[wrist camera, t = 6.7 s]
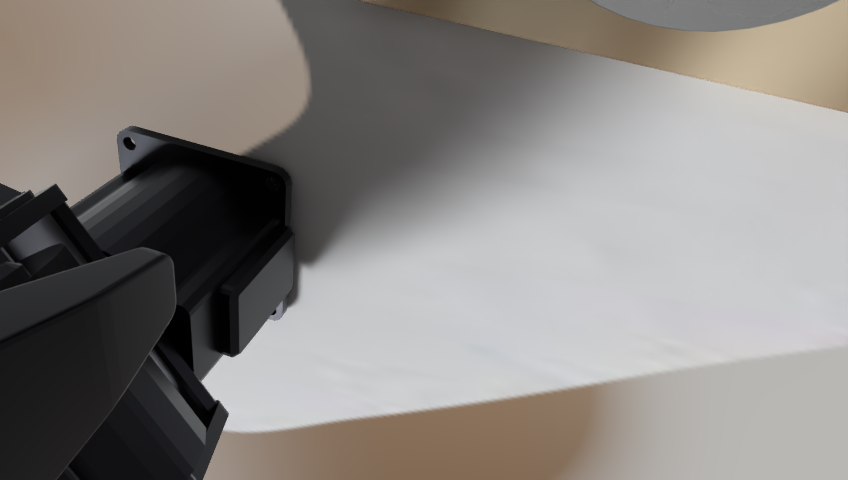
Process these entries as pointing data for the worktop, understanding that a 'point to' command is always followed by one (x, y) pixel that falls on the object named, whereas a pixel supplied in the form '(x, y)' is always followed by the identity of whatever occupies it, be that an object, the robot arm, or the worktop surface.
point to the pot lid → (713, 12)
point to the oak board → (677, 43)
